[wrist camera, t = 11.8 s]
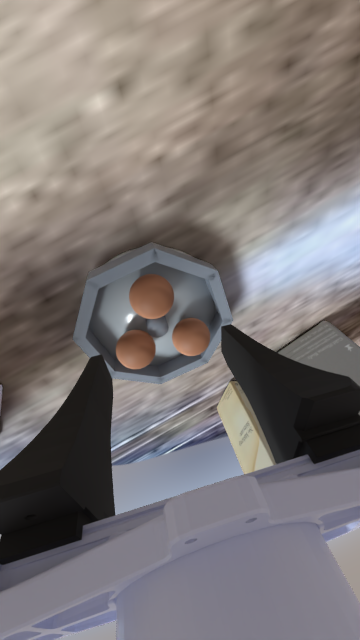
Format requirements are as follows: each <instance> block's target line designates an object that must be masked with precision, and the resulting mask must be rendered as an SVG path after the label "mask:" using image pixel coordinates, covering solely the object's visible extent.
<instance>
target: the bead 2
mask: <svg viewBox="0 0 360 640" xmlns="http://www.w3.org/2000/svg"><path fill="white" fill-rule="evenodd" d="M155 353H156V345H155V342H154V340H153V338H152V337H151V336H150V335H149V334H148V333H147V332H145V331H142V330H130V331H128V332H126V333H124V334H123V335H122V336H121V337H120V338H119V340H118V342H117V345H116V355H117V358H118V360H119V361H120V363H121V364H122V365H124V366H125V367H127V368H130V369H141V368H144V367H146V366H147V365H149V364H150V363H151V361H152V360H153V358H154V356H155Z"/></svg>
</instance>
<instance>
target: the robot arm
mask: <svg viewBox="0 0 360 640" xmlns="http://www.w3.org/2000/svg"><path fill="white" fill-rule="evenodd" d="M221 348H222V354H223V356H224V358H225V361H226V363H227V365H228V367H229V368H230V370H231V372H232V373H233V375H234V377H235V378H236V380H237V382H238V383H239V385H240V387H241V388H242V390H243V392H244V393H245V395H246V397H247V399H248V401H249V403H250V405H251V407H252V409H253V411H254V413H255V415H256V418H257V420H258V422H259V424H260V427H261V429H262V431H263V433H264V436H265V438H266V441H267V443H268V445H269V448H270V450H271V453H272V455H273V458H274V460H275V463H276V465H273V466H269V467H266V468H263V469H260V470H257V471H254V472H250V473H247V474H244V475H241V476H236V477H233V478H229V479H226V480H224V481H220V482H217V483H214V484H211V485H207V486H204V487H201V488H198V489H195V490H192V491H189V492H185V493H183V494H180V495H178V496H175V497H172V498H169V499H165V500H162V501H159V502H156V503H153V504H150V505H146V506H143V507H140V508H137V509H134V510H131V511H128V512H124V513H121V514H118V515H115V507H114V496H113V481H112V464H111V419H112V404H113V385H112V377H111V375H110V372H109V370H108V368H107V365H106V363H105V360H104V358H103V356H102V354H101V355H97V356H92V357H91V358H90V359H89V361H88V363H87V365H86V367H85V369H84V371H83V372H82V374H81V376H80V378H79V380H78V381H77V383H76V385H75V386H74V388H73V390H72V391H71V393H70V394H69V396H68V397H67V399H66V400H65V402H64V403H63V405H62V406H61V407H60V409H59V410H58V411H57V413H56V414H55V415H54V417H53V418H52V419H51V420H50V421H49V423H48V424H47V425H46V426H45V427H44V428H43V429H42V430H41V432H40V433H39V434H38V435H37V436H36V437H35V438H34V439H33V440H32V441H31V442H30V443H29V444H28V445H27V446H26V447H25V448H24V449H23V450H22V451H21V452H20V453H19V454H18V455H17V456H16V457H15V458H14V459H13V460H11V461H10V462H9V463H8V464H7V465H6V466H5V467H4V468H2V469H1V470H0V534H1V535H2V536H1V539H0V640H56V639H59V638H62V637H66V636H69V635H72V634H75V633H78V632H82V631H85V630H88V629H91V628H94V627H98V626H101V625H104V624H107V623H110V622H114V621H116V640H360V603H359V601H358V599H357V597H356V596H355V594H354V592H353V590H352V588H351V587H350V585H349V583H348V581H347V580H346V578H345V576H344V574H343V572H342V570H341V569H340V567H339V565H338V563H337V561H336V560H335V558H334V556H333V554H332V552H331V551H330V549H329V547H328V545H327V543H326V542H328V541H330V540H333V539H335V538H337V537H339V536H342V535H344V534H346V533H349V532H351V531H353V530H355V529H358V528H360V415H359V414H358V413H359V411H360V386H359V385H358V384H357V383H355V382H354V381H353V380H352V379H351V378H350V377H348V376H344V375H340V374H336V373H332V372H328V371H324V370H321V369H317V368H314V367H311V366H308V365H305V364H302V363H300V362H297V361H295V360H292V359H290V358H287V357H285V356H283V355H281V354H279V353H277V352H275V351H273V350H271V349H269V348H267V347H265V346H263V345H262V344H260V343H258V342H257V341H255V340H254V339H252V338H250V337H249V336H247V335H246V334H244V333H243V332H241V331H240V330H238V329H237V328H236V327H234V326H233V325H231V324H229V325H225V326H221ZM2 389H3V387H2V385H1V384H0V414H1V402H2Z"/></svg>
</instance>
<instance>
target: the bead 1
mask: <svg viewBox="0 0 360 640" xmlns="http://www.w3.org/2000/svg"><path fill="white" fill-rule="evenodd" d="M129 301H130V304H131V306H132V308H133V310H134V311H135V312H136V313H137V314H138V315H140V316H142V317H144V318H147V319H156V318H160V317H162V316H164V315H165V314H167V313H168V312H169V310H170V309H171V307H172V305H173V302H174V291H173V288H172V286H171V284H170V283H169V282H168V281H167V280H166V279H165V278H164V277H162V276H160V275H156V274H146V275H143V276H141V277H139V278H138V279H137V280H136V281H135V282H134V283H133V284H132V286H131V288H130V292H129Z"/></svg>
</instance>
